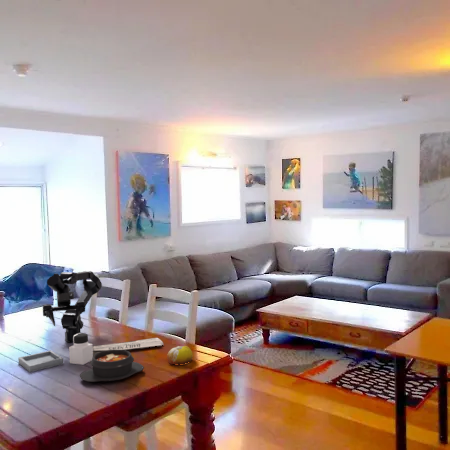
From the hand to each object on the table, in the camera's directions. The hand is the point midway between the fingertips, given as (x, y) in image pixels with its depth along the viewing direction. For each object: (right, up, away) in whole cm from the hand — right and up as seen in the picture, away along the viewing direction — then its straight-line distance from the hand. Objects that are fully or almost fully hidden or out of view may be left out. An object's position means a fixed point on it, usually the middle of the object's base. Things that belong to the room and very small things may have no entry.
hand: (65, 324), depth 214 cm
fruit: (+53, -14, -12) cm, 56 cm away
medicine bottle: (+10, -14, -10) cm, 20 cm away
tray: (-6, -14, -12) cm, 20 cm away
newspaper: (+26, -13, +6) cm, 30 cm away
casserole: (+28, -15, -27) cm, 42 cm away
